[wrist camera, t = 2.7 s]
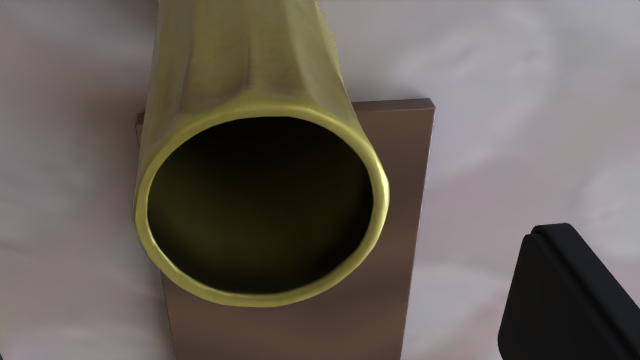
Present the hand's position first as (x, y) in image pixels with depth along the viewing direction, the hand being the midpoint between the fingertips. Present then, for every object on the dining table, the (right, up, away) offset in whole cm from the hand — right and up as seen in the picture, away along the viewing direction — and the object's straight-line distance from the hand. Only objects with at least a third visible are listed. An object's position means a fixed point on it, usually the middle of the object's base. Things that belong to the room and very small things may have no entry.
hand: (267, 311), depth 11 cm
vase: (-2, +10, +13) cm, 17 cm away
